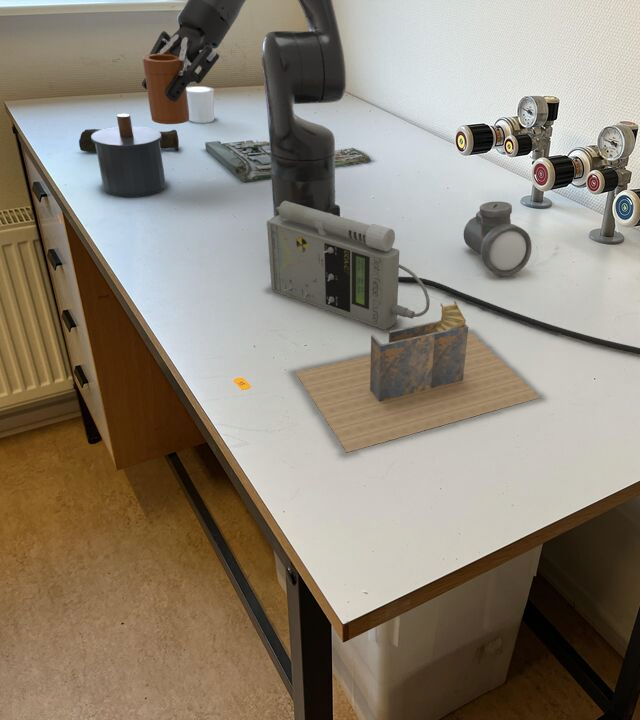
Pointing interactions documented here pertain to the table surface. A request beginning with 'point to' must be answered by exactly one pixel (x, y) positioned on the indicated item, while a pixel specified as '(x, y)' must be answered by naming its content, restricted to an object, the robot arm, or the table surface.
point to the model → (264, 158)
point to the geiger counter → (337, 264)
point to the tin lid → (126, 135)
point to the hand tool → (85, 141)
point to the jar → (157, 80)
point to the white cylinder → (200, 103)
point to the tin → (131, 170)
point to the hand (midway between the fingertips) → (158, 93)
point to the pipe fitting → (498, 239)
